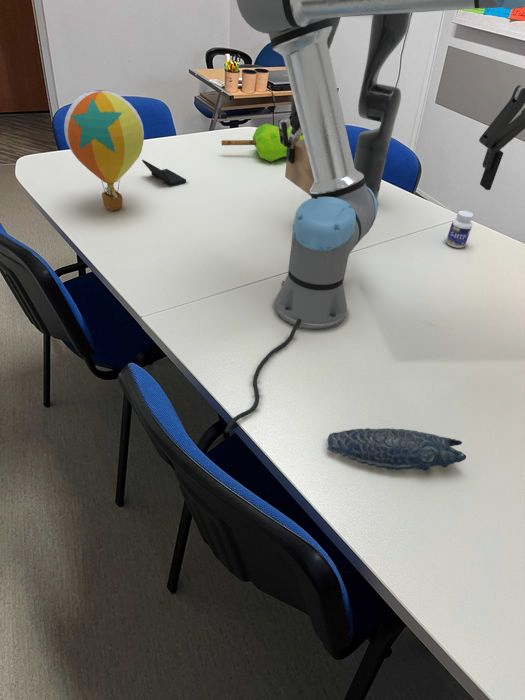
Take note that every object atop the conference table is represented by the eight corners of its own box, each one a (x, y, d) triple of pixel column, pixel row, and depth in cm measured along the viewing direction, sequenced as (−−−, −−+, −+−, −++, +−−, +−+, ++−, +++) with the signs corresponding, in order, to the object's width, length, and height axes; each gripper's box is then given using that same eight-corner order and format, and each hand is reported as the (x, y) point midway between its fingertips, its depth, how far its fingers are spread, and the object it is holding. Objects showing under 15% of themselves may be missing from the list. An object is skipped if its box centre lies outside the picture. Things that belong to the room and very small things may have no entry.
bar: (356, 214, 123) (363, 175, 117) (339, 217, 121) (346, 177, 115) (300, 175, 140) (304, 139, 135) (284, 177, 138) (288, 140, 133)
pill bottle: (444, 245, 142) (454, 215, 137) (446, 237, 146) (456, 207, 141) (464, 249, 141) (475, 219, 135) (465, 241, 145) (476, 212, 139)
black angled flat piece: (190, 175, 164) (173, 153, 156) (179, 193, 163) (161, 172, 155) (166, 170, 170) (147, 148, 162) (155, 188, 169) (136, 167, 161)
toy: (64, 203, 145) (44, 85, 127) (127, 189, 156) (117, 79, 137) (97, 229, 134) (80, 105, 116) (162, 213, 145) (156, 96, 126)
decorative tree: (218, 120, 186) (299, 120, 191) (218, 150, 192) (297, 149, 197) (225, 135, 172) (312, 134, 177) (225, 166, 178) (309, 165, 184)
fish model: (464, 484, 79) (474, 462, 76) (325, 466, 80) (330, 444, 77) (456, 450, 84) (465, 429, 81) (326, 434, 85) (331, 412, 82)
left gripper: (628, 55, 85) (571, 182, 98) (486, 45, 82) (446, 178, 95) (660, 65, 79) (595, 198, 93) (509, 54, 76) (463, 194, 89)
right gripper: (327, 85, 129) (317, 155, 140) (274, 86, 124) (269, 158, 135) (342, 93, 124) (331, 164, 134) (288, 94, 119) (281, 168, 129)
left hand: (519, 188), depth 94 cm, fingers open, 13 cm apart
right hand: (300, 161), depth 134 cm, fingers closed on bar, 5 cm apart
